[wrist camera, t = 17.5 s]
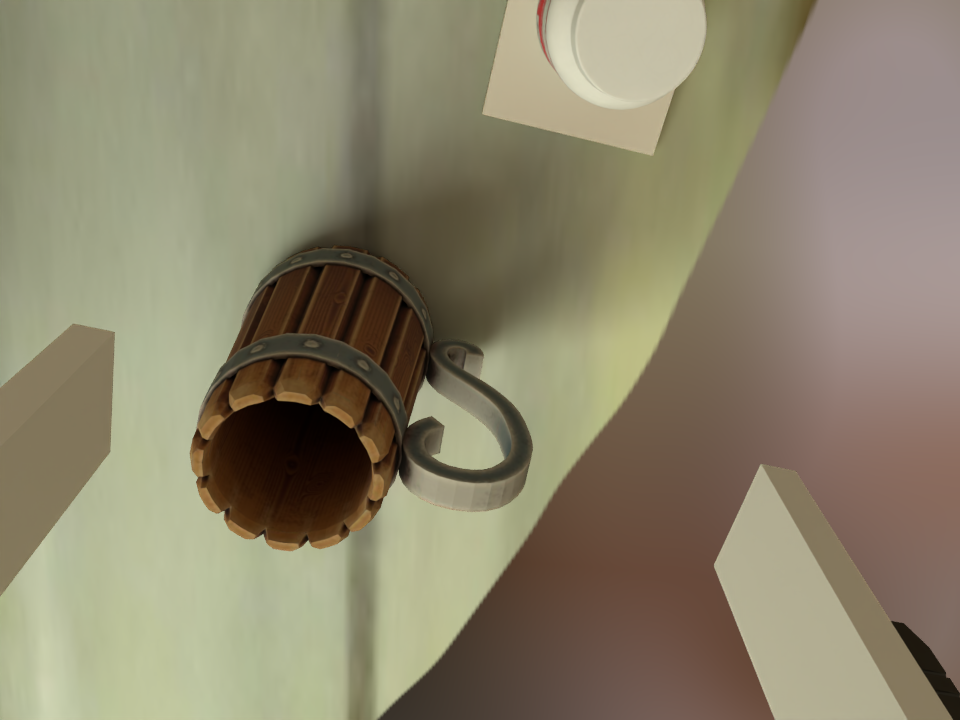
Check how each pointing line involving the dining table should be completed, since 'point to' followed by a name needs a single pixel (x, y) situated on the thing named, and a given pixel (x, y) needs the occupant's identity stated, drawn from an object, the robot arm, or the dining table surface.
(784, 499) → the robot arm
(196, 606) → the dining table surface
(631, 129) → the pad
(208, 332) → the dining table surface
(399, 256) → the dining table surface
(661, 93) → the pill bottle
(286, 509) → the mug
